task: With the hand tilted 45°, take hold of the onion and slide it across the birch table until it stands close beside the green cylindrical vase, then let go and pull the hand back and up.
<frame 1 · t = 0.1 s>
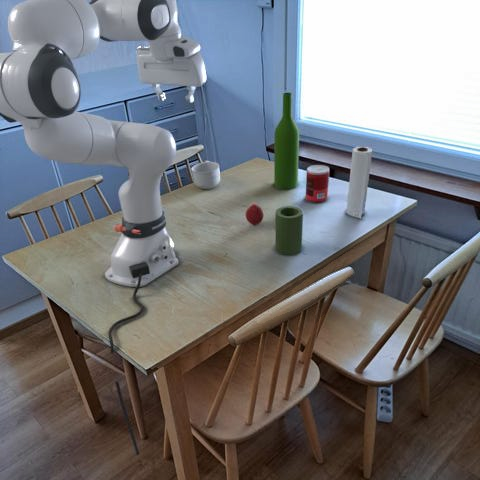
hand: (176, 101, 131), 39 cm above the table, tool pointing down, fingers open, 8 cm apart
wine bottle: (286, 185, 179), on the table
canned food: (316, 199, 167), on the table
paper towel roll: (354, 214, 157), on the table
onion: (255, 225, 153), on the table
teacup: (208, 185, 182), on the table
green cylindrical vase: (288, 248, 140), on the table
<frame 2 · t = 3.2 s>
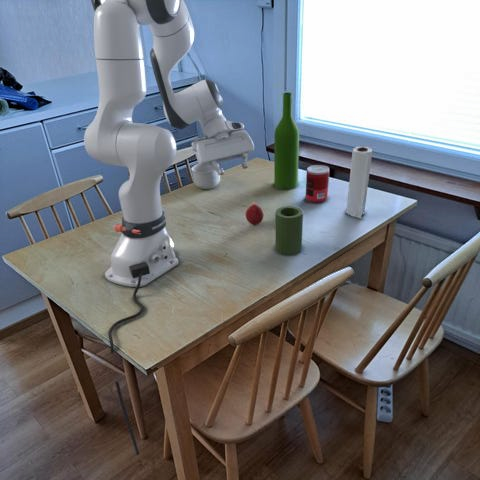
hand: (233, 171, 153), 15 cm above the table, tool tilted 45°, fingers open, 8 cm apart
nothing on the table moved.
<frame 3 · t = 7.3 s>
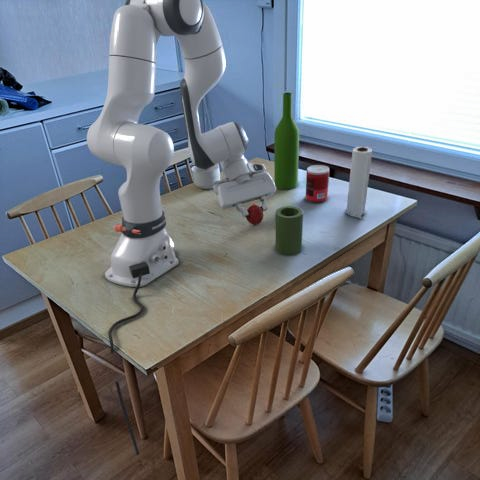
hand: (255, 213, 150), 4 cm above the table, tool tilted 45°, fingers closed on onion, 5 cm apart
onion: (255, 225, 153), on the table, touching gripper
everything else where it was.
when the fingers open (4 cm above the table, at t = 11.2 s): onion stays where it is, on the table.
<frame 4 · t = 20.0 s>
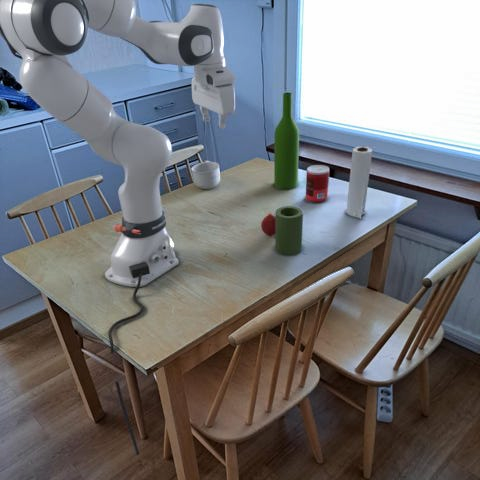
hand: (214, 125, 138), 31 cm above the table, tool pointing down, fingers open, 8 cm apart
onion: (270, 236, 147), on the table
everything else where it was.
at the end: onion 9.8 cm from the green cylindrical vase (horizontally); onion moved 9.3 cm from its start; the gripper is holding nothing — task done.
